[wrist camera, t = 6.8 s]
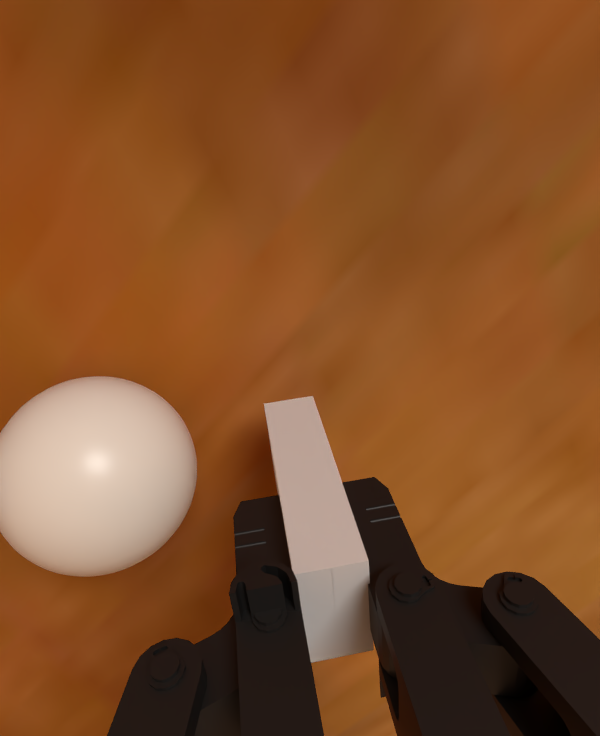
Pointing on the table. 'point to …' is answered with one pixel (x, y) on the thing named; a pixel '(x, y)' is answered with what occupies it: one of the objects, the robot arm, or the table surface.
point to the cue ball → (94, 476)
